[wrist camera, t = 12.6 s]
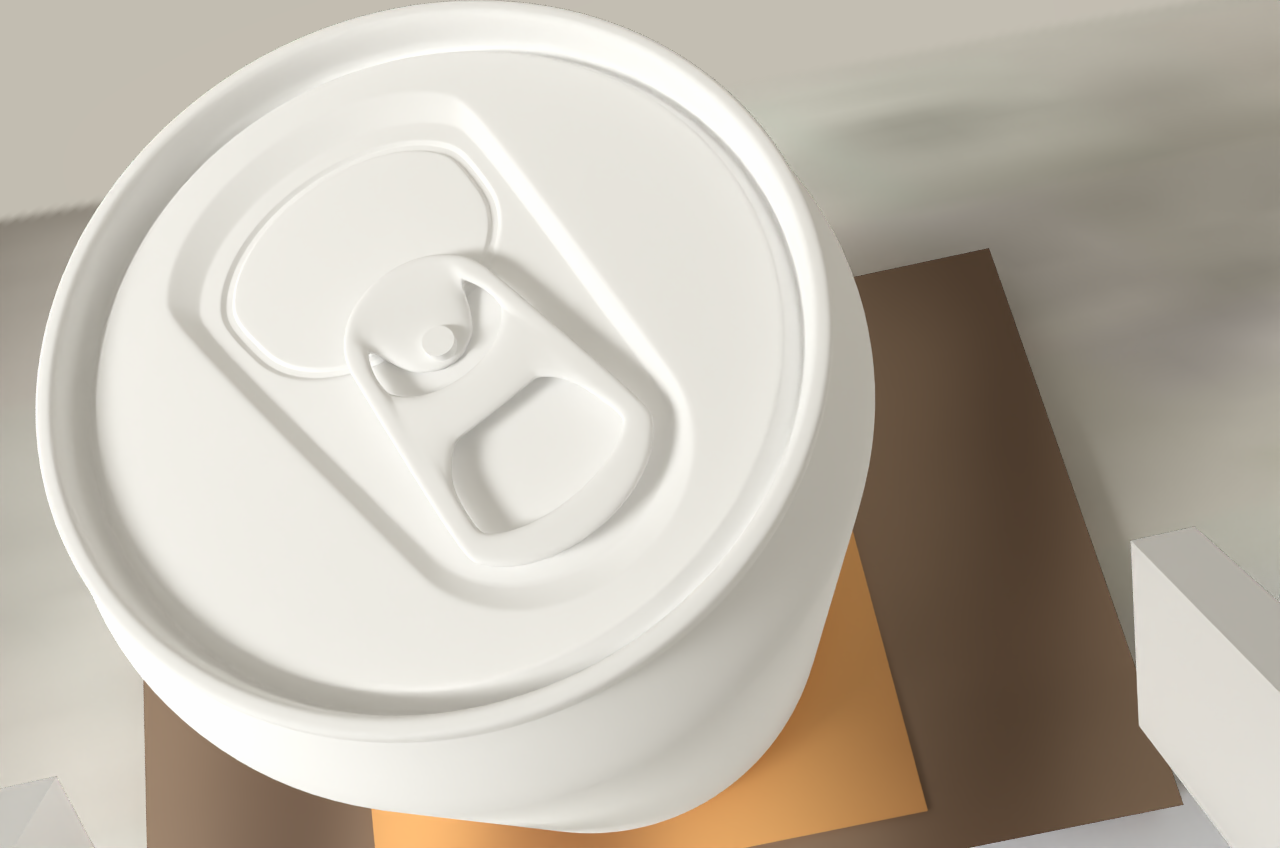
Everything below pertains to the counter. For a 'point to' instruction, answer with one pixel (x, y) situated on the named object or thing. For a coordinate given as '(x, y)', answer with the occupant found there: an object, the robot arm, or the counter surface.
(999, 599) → the label board
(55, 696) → the counter surface
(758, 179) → the beverage can
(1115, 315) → the counter surface
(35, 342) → the counter surface
